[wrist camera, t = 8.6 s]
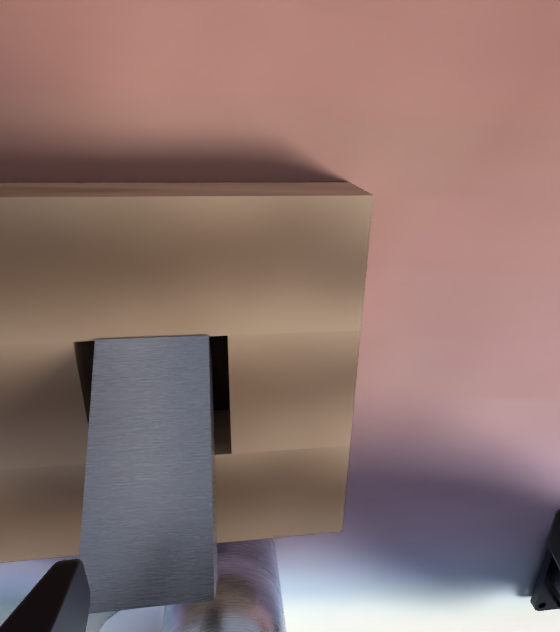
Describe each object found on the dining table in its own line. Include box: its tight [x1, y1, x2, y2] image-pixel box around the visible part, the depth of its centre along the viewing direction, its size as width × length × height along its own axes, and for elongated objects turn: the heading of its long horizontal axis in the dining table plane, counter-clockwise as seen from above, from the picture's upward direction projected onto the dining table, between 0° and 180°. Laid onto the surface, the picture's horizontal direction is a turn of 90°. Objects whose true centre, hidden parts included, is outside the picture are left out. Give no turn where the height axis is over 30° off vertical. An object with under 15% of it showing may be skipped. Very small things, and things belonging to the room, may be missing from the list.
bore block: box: [0, 182, 373, 563], centre depth 19 cm, size 15×15×3 cm
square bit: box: [79, 335, 218, 613], centre depth 16 cm, size 4×4×8 cm
